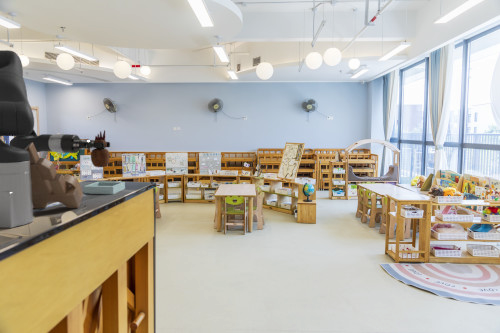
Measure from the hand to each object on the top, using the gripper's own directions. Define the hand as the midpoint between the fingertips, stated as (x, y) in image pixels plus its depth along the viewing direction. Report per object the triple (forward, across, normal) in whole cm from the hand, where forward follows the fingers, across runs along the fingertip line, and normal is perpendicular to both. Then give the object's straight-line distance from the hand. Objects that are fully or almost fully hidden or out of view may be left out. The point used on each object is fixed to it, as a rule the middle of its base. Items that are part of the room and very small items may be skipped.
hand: (106, 145), depth 128 cm
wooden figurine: (-3, 0, +9) cm, 10 cm away
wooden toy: (-6, -24, +18) cm, 31 cm away
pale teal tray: (-2, +4, +20) cm, 20 cm away
